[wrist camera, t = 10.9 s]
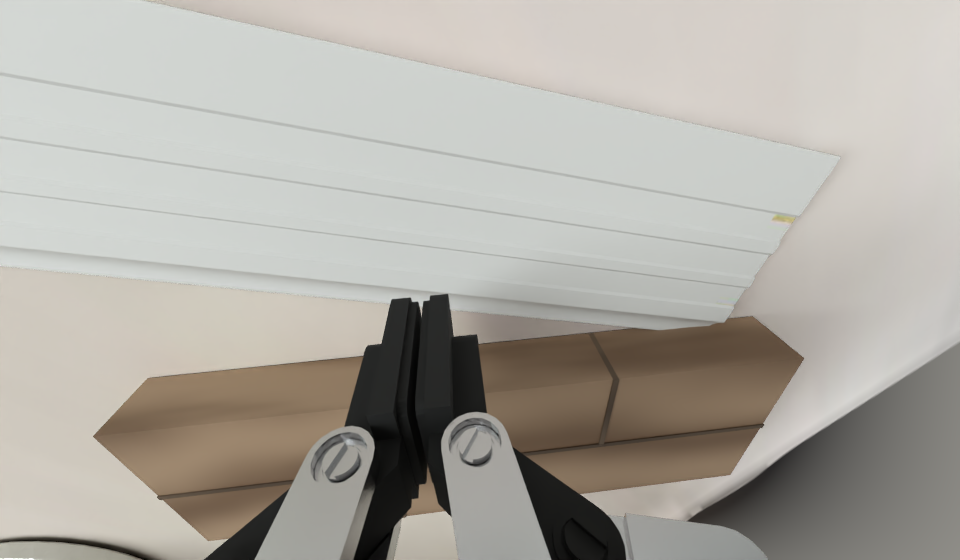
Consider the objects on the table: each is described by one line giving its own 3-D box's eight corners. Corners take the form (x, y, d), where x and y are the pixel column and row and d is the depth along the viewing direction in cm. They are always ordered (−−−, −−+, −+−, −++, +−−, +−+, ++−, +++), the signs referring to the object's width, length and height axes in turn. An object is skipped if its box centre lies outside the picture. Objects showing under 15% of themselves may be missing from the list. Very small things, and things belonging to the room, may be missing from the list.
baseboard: (676, 344, 18) (803, 146, 13) (712, 387, 16) (885, 165, 11) (-42, 279, 13) (-307, -104, 8) (-155, 330, 10) (-660, -184, 5)
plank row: (698, 429, 21) (731, 476, 19) (235, 484, 20) (207, 542, 17) (752, 316, 16) (805, 359, 14) (147, 378, 15) (90, 437, 13)
